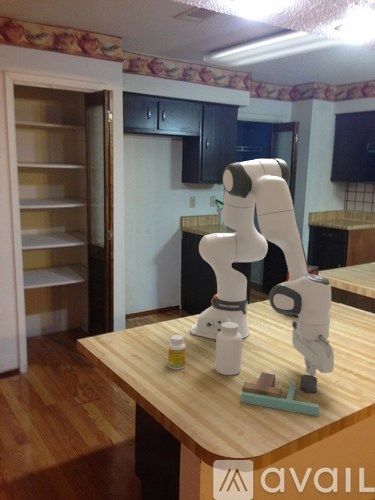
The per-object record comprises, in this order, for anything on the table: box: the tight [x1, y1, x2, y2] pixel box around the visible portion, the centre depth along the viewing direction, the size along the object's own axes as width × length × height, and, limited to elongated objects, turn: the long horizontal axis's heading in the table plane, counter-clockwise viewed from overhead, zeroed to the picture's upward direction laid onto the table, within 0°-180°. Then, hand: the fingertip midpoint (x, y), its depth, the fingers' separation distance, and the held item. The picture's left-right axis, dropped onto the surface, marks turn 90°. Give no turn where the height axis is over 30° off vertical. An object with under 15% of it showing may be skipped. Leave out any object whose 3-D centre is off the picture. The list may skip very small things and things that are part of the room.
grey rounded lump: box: [299, 374, 318, 394], centre depth 125 cm, size 4×4×4 cm
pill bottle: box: [214, 322, 243, 376], centre depth 136 cm, size 8×8×15 cm
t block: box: [241, 371, 282, 398], centre depth 123 cm, size 10×11×4 cm
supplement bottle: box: [167, 334, 187, 370], centre depth 139 cm, size 5×5×10 cm
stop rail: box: [240, 382, 320, 417], centre depth 120 cm, size 20×12×2 cm, turn 71°
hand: (310, 373), depth 132 cm, fingers closed
